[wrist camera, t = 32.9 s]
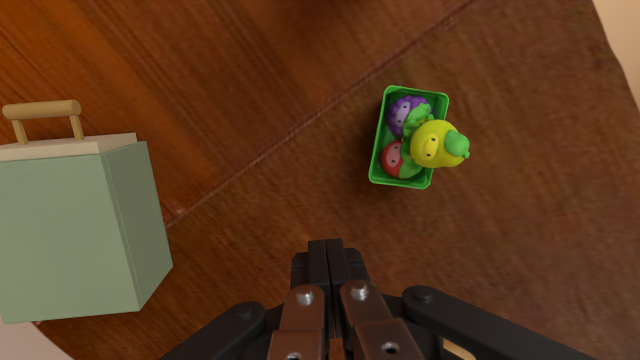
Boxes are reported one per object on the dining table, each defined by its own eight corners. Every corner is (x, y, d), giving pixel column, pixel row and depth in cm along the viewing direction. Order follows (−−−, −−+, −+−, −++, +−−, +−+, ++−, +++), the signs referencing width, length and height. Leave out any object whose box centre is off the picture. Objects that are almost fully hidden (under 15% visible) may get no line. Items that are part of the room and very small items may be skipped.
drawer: (10, 105, 38) (-62, 108, 31) (127, 96, 39) (84, 97, 31) (60, 263, 44) (10, 299, 36) (162, 254, 44) (133, 287, 37)
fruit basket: (375, 85, 41) (402, 82, 30) (442, 95, 42) (492, 96, 31) (359, 172, 44) (379, 198, 33) (423, 180, 44) (462, 208, 34)
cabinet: (26, 150, 41) (-57, 167, 31) (146, 140, 41) (99, 155, 32) (66, 276, 45) (4, 324, 36) (173, 266, 46) (139, 311, 36)
